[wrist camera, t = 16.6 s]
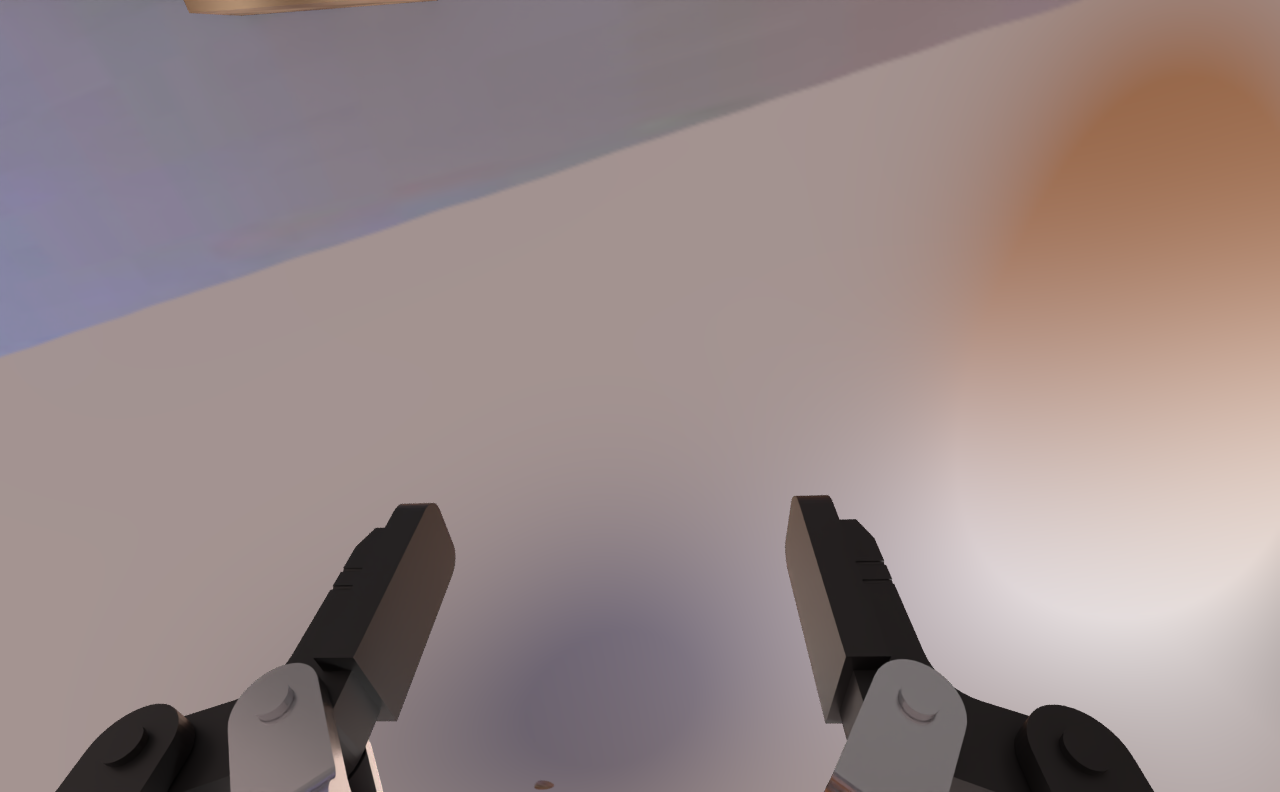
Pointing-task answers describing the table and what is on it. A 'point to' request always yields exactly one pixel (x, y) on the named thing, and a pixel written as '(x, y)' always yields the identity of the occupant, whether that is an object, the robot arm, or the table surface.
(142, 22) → the table surface
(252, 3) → the walnut crate
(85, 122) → the table surface
